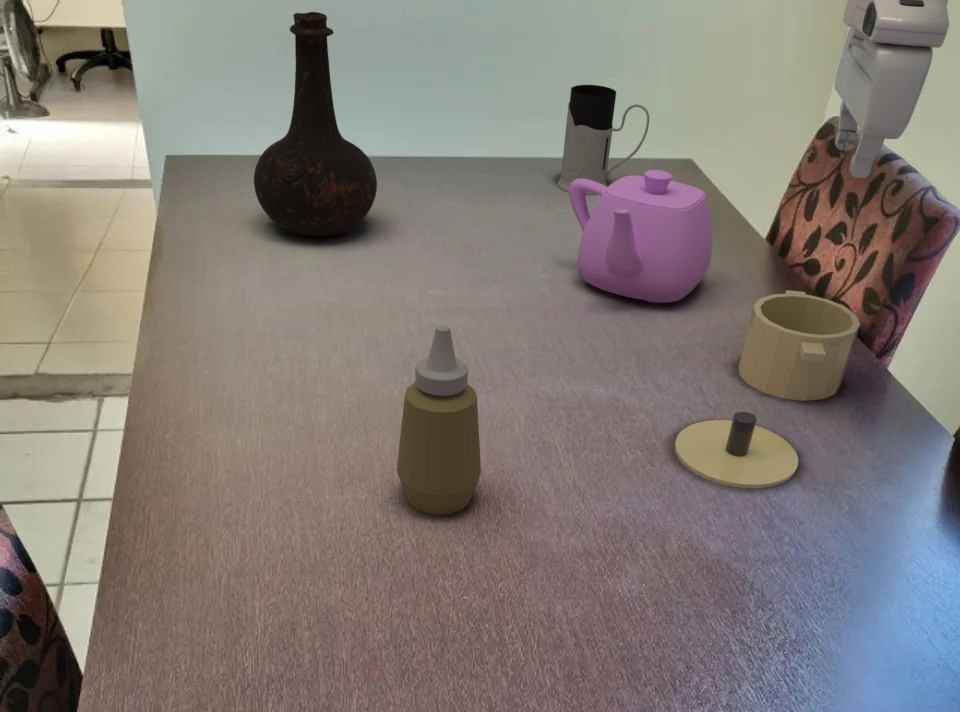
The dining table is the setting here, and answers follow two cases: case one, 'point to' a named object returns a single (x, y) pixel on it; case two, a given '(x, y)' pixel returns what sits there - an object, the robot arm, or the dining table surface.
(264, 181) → the glass bottle
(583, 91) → the glass holder
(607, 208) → the teapot
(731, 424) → the lid
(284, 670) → the dining table surface
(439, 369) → the squeeze bottle
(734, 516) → the dining table surface
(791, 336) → the pot
